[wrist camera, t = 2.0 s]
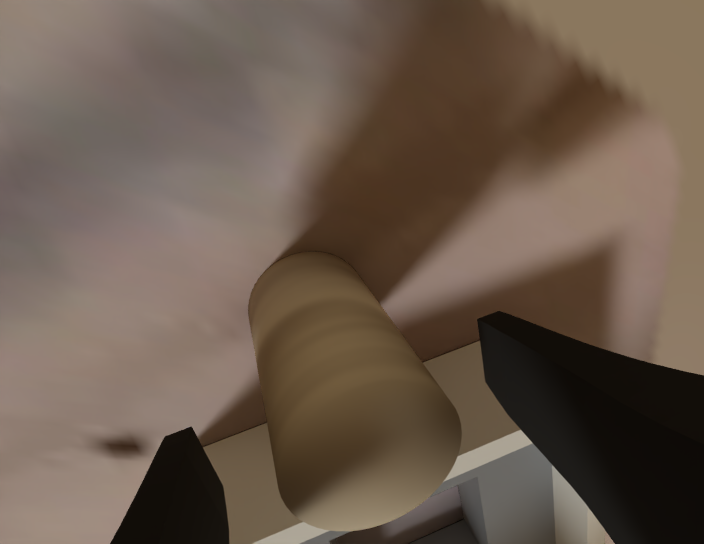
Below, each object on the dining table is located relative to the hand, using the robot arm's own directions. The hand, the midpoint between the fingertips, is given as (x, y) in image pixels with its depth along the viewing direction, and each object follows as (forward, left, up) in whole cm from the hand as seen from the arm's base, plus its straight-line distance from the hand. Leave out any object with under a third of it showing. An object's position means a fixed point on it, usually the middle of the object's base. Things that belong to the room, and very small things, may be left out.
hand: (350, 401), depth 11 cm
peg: (0, 0, -5) cm, 5 cm away
